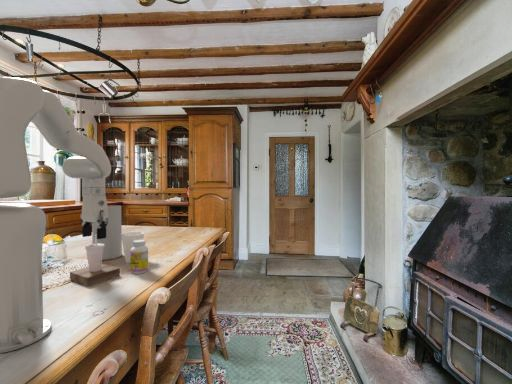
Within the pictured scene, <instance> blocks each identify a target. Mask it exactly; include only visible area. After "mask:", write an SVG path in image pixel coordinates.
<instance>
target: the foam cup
mask: <svg viewBox="0 0 512 384" xmlns="http://www.w3.org/2000/svg"><path fill="white" fill-rule="evenodd" d="M121 238H122V249H123V255H124V259H125V263H126V264H131V258H130V250H131V248H132V247H134V245H133V241H135V240H144V238H145V232H143V231H128V232H124V233H122V235H121Z"/></svg>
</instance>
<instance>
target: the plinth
mask: <svg viewBox="0 0 512 384" xmlns="http://www.w3.org/2000/svg"><path fill="white" fill-rule="evenodd" d="M120 270H121V268H120V267H116V266H112V265H107V264H106V263H105V264H104V263H102V264H101V270H100V271H96V272H90V271H89V266H88V267H83V268H80V269H77V270H72V271H70V272H69V280H70V279H71V280H70V281H71V282H75V283H77V284H80V285H83V286H86V287H89V286H92V285H96V284H100V283H102V282H105V281H108V280H111V279H114V278H117V277H120V276H121V273H120Z"/></svg>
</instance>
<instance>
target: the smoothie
mask: <svg viewBox="0 0 512 384" xmlns="http://www.w3.org/2000/svg"><path fill="white" fill-rule="evenodd" d="M104 247H105V246H104V244H100V243H99V244H97V234H95V244H92V243H91V244H86V245H85V247H84V249H85V251H86V257H87V263H88V267H89V271H90V272H96V271H100V270H101V264H103V260H102V257H103V249H104Z"/></svg>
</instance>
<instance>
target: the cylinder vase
mask: <svg viewBox="0 0 512 384" xmlns="http://www.w3.org/2000/svg"><path fill="white" fill-rule="evenodd" d="M107 207H108V216H109V220H108V224H107V228H106V238H103V239H97V244H99V243H100V244H104V246H105V247H104V249H103V257H102V261H109V260H115V259H118V258H119V257H121V256H122V254H123V253H122V252H123V250H122V249H123V243H122V238H121V235H122V234H123V233H122V229H123V228H122V205H107ZM100 224H101V223H100ZM91 226H92V235H91V239H92V240H91V241H92V243H91V244H95V234H97V228H98V226H97V224H96V223H91Z"/></svg>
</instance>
